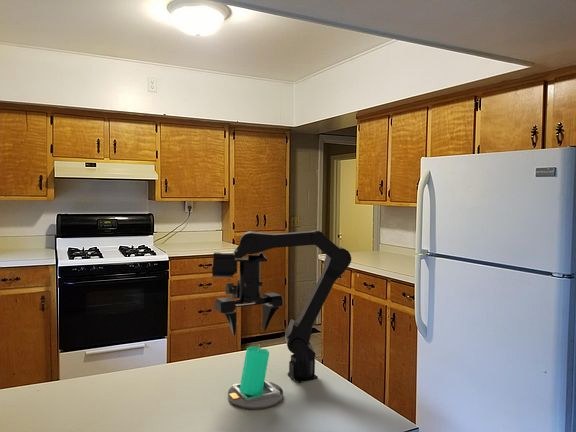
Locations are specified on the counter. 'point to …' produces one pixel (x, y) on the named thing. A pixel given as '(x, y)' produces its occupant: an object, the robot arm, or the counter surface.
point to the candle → (254, 371)
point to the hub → (256, 397)
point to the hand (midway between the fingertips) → (249, 332)
